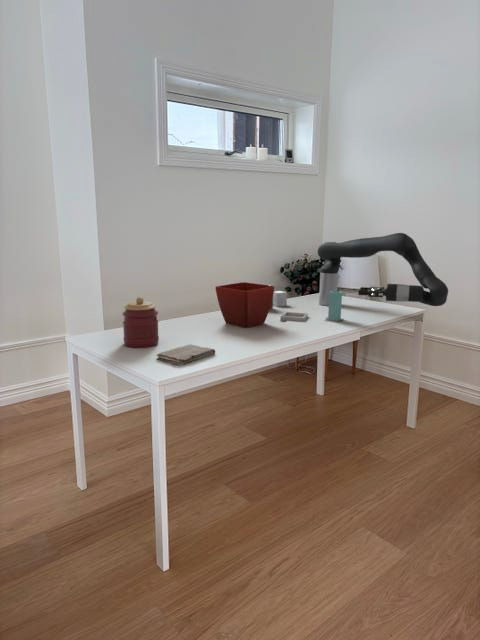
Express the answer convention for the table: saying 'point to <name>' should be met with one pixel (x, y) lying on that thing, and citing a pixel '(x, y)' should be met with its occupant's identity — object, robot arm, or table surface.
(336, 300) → the teal square tube
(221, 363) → the table surface
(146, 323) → the canister
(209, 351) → the washcloth
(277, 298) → the skincare box
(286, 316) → the tray
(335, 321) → the square wooden base
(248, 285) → the plant pot
